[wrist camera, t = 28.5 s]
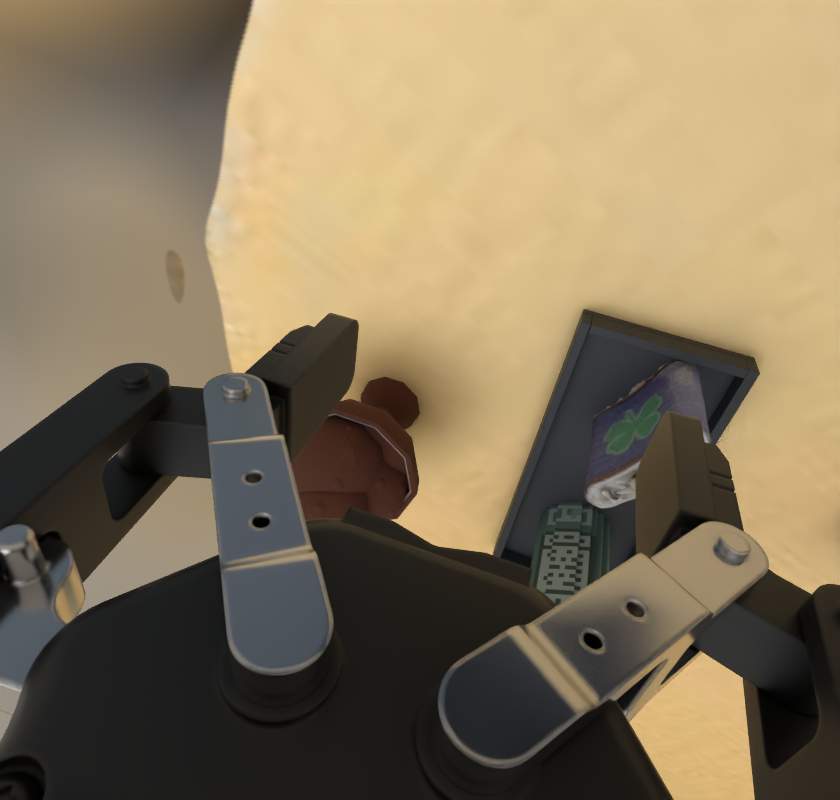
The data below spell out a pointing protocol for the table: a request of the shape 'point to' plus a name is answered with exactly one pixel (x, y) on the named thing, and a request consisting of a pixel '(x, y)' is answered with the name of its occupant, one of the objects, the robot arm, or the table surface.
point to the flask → (638, 430)
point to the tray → (589, 395)
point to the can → (570, 550)
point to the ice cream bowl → (361, 456)
